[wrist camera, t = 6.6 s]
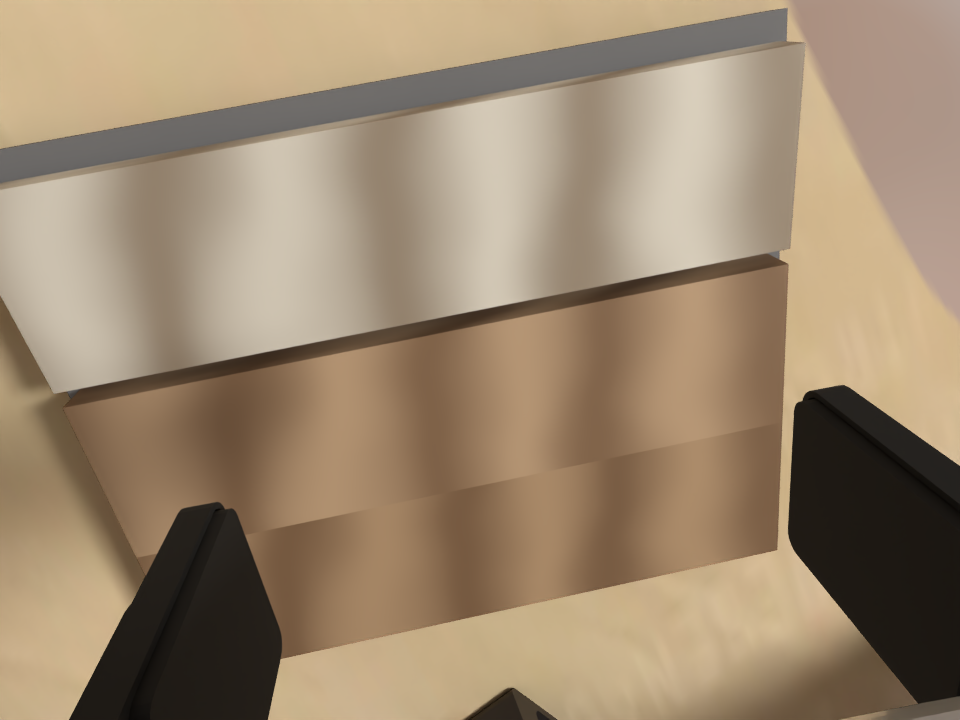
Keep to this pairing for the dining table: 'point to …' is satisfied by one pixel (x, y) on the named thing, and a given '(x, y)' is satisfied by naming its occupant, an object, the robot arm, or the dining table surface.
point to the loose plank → (401, 215)
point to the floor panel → (460, 407)
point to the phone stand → (513, 709)
